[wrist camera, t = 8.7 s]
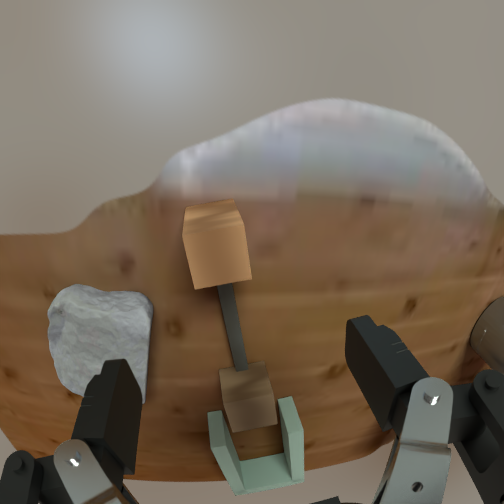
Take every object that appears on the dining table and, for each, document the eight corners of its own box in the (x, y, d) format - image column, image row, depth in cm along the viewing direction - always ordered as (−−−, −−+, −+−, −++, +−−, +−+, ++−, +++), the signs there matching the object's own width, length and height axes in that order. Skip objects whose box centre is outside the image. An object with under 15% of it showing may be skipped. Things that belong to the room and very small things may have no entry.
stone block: (71, 361, 29) (155, 389, 30) (51, 389, 25) (142, 422, 25) (64, 263, 25) (163, 291, 26) (35, 285, 21) (146, 320, 21)
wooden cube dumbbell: (239, 197, 23) (252, 222, 18) (268, 392, 32) (281, 435, 27) (179, 208, 23) (173, 237, 18) (227, 400, 32) (234, 444, 26)
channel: (291, 396, 33) (303, 429, 29) (295, 454, 39) (304, 481, 35) (207, 412, 32) (210, 448, 28) (230, 467, 38) (235, 495, 34)
